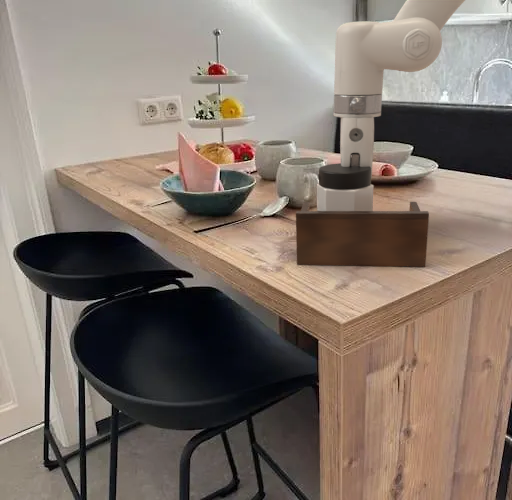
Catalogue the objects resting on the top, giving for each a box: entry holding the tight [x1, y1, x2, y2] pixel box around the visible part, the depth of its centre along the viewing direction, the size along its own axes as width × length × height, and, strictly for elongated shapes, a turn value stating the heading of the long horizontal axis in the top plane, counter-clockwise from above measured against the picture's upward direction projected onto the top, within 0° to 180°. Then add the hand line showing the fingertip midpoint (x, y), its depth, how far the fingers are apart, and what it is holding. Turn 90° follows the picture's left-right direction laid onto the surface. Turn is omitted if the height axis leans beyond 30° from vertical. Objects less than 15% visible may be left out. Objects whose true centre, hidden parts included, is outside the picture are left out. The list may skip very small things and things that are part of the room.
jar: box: [316, 162, 375, 211], centre depth 80 cm, size 9×8×12 cm
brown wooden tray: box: [295, 201, 430, 268], centre depth 76 cm, size 18×13×8 cm
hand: (352, 216), depth 86 cm, fingers closed
